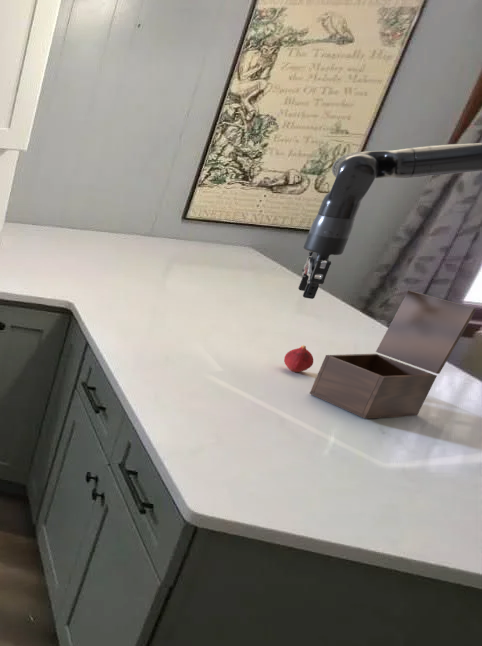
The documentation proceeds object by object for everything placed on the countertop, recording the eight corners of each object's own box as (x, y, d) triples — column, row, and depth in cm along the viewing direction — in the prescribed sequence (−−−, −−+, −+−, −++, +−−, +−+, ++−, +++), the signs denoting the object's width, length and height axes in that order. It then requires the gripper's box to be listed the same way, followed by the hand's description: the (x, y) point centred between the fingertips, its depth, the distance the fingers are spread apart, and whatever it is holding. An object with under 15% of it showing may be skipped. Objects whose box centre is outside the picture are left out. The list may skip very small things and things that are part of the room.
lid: (474, 308, 141) (489, 309, 142) (408, 290, 153) (422, 292, 154) (436, 373, 147) (451, 374, 148) (375, 351, 158) (389, 352, 159)
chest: (365, 418, 148) (384, 377, 144) (309, 393, 160) (325, 354, 156) (416, 416, 151) (437, 375, 147) (358, 391, 162) (375, 353, 159)
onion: (312, 378, 169) (323, 351, 166) (286, 375, 170) (296, 348, 168) (301, 369, 174) (311, 343, 171) (276, 366, 176) (286, 340, 173)
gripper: (354, 241, 152) (329, 304, 157) (343, 231, 163) (320, 291, 168) (313, 235, 156) (290, 297, 162) (305, 227, 167) (283, 285, 172)
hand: (305, 294), depth 165 cm, fingers open, 8 cm apart
